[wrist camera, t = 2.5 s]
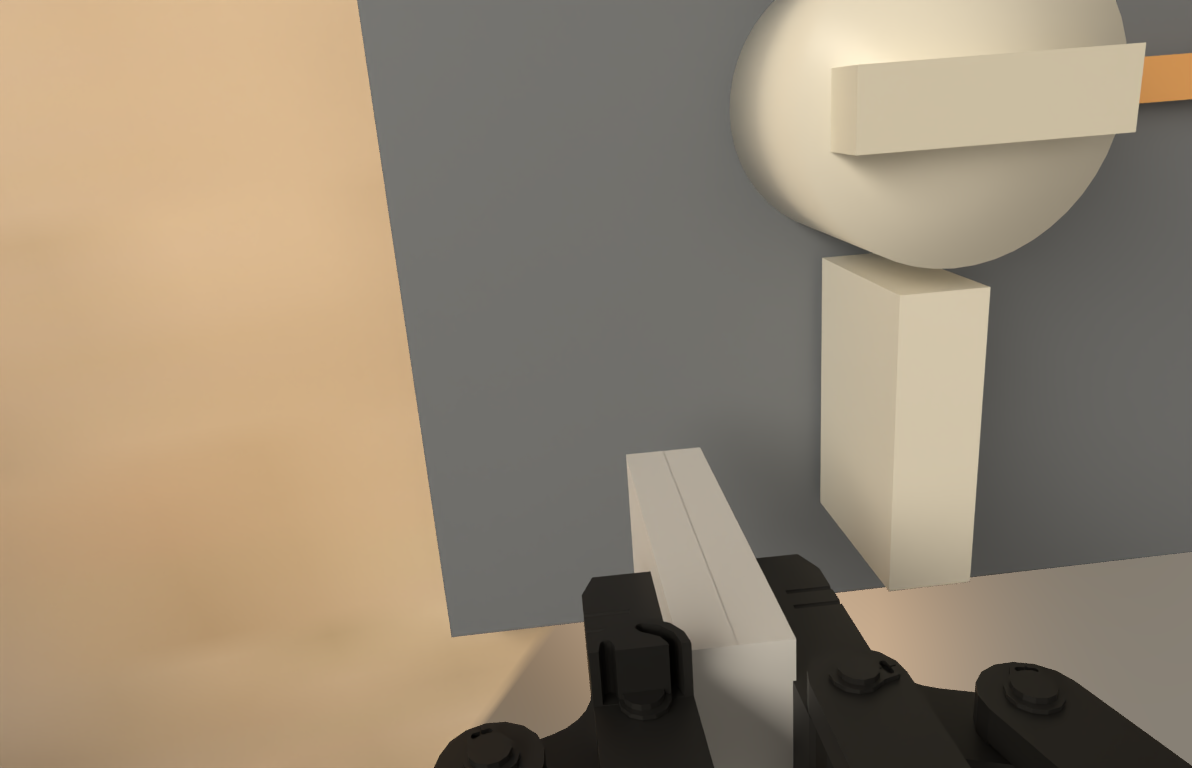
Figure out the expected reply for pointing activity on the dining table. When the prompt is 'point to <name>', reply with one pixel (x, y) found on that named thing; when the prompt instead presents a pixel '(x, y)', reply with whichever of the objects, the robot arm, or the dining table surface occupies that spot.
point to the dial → (926, 219)
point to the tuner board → (731, 307)
